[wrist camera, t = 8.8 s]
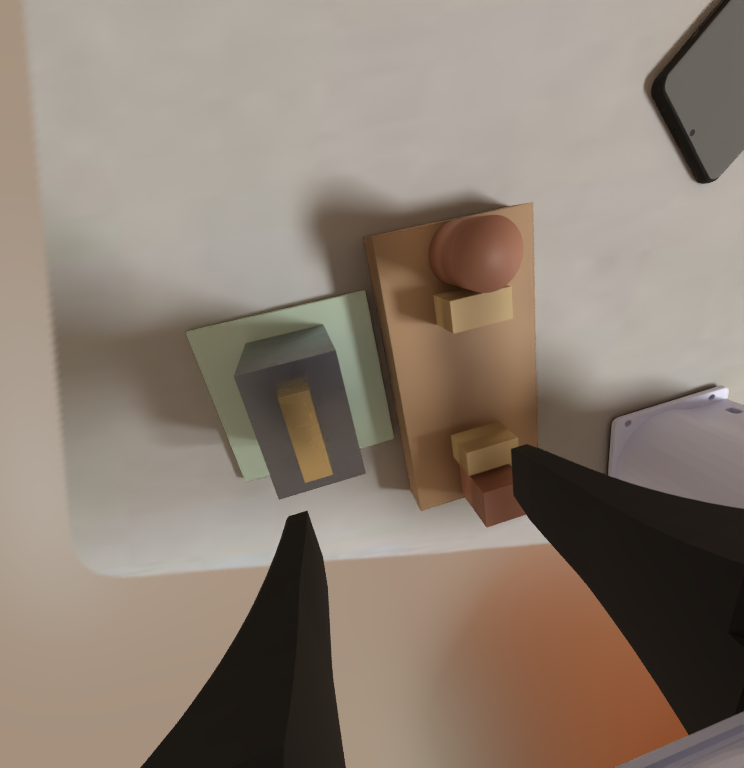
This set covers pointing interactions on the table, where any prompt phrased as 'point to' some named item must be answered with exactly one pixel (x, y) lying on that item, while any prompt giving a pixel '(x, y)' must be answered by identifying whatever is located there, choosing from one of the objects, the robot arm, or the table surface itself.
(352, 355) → the mat
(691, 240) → the table surface
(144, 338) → the table surface
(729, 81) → the smartphone
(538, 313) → the table surface
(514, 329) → the block sculpture plaque
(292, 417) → the grey block
